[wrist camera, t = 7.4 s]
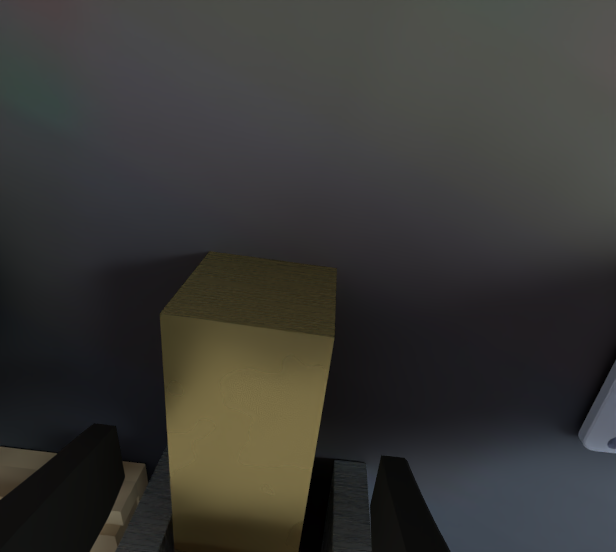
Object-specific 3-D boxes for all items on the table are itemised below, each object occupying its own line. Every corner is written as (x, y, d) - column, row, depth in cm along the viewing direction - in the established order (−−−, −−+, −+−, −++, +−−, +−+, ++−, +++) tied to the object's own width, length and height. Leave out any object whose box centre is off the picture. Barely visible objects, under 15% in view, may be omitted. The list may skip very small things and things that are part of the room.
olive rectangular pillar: (211, 248, 12) (159, 313, 9) (336, 265, 12) (334, 337, 8) (210, 455, 16) (174, 556, 13) (304, 469, 16) (294, 575, 12)
